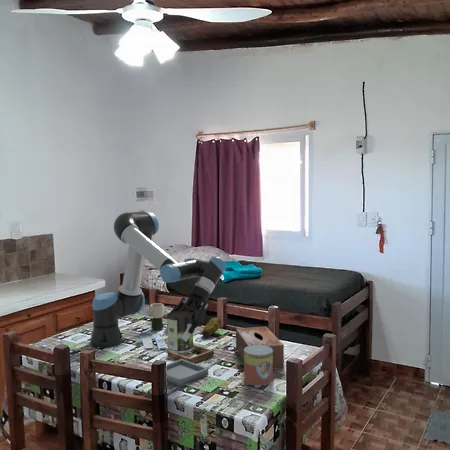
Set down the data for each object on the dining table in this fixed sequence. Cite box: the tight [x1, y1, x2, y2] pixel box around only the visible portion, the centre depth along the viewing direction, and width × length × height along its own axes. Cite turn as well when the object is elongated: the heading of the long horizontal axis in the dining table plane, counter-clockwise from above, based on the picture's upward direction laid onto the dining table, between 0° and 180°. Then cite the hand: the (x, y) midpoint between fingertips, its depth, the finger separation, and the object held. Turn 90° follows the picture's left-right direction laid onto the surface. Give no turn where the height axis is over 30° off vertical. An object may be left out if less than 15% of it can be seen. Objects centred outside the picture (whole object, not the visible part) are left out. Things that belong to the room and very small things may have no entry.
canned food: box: [243, 345, 274, 387], centre depth 183 cm, size 11×11×12 cm
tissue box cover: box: [235, 326, 285, 370], centre depth 206 cm, size 26×14×10 cm, turn 11°
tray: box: [166, 359, 209, 388], centre depth 189 cm, size 16×16×2 cm
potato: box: [202, 317, 223, 338], centre depth 239 cm, size 8×13×8 cm, turn 129°
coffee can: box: [166, 311, 194, 354], centre depth 187 cm, size 10×10×14 cm
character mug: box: [147, 302, 167, 330], centre depth 249 cm, size 11×7×13 cm, turn 126°
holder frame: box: [166, 343, 215, 364], centre depth 209 cm, size 14×14×2 cm
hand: (174, 337), depth 185 cm, fingers closed on coffee can, 10 cm apart
